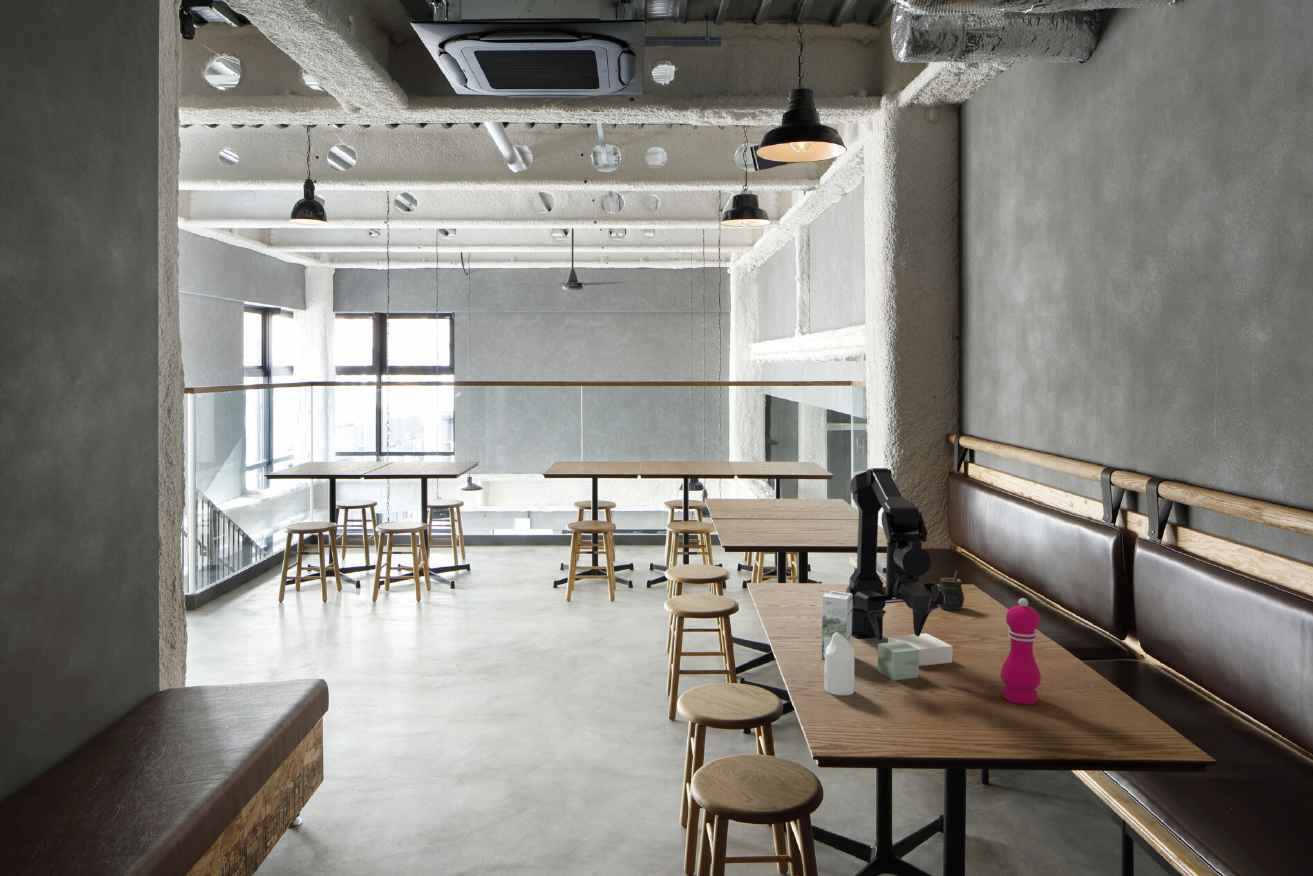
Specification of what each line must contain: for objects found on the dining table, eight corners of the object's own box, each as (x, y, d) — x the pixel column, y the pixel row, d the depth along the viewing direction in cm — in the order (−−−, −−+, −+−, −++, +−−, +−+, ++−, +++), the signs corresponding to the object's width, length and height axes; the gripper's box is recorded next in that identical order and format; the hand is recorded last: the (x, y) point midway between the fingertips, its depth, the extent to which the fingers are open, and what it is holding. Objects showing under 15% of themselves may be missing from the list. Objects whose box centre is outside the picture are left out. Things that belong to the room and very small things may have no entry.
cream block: (887, 653, 192) (888, 636, 191) (925, 650, 194) (926, 633, 194) (912, 668, 182) (912, 650, 182) (952, 664, 185) (952, 646, 184)
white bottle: (859, 631, 167) (849, 638, 162) (858, 689, 168) (847, 698, 163) (831, 626, 170) (820, 633, 166) (830, 683, 171) (819, 691, 167)
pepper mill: (1037, 708, 159) (1041, 605, 157) (996, 700, 163) (1000, 599, 161) (1042, 696, 165) (1046, 596, 164) (1003, 689, 169) (1006, 591, 167)
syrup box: (851, 655, 189) (853, 592, 188) (846, 663, 184) (847, 598, 183) (826, 651, 192) (828, 589, 191) (820, 659, 186) (821, 595, 185)
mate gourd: (933, 609, 228) (934, 573, 228) (939, 603, 235) (940, 568, 234) (960, 613, 224) (961, 576, 224) (966, 607, 231) (967, 571, 230)
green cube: (877, 671, 179) (878, 643, 179) (901, 668, 181) (902, 641, 181) (893, 680, 173) (894, 652, 173) (918, 677, 175) (919, 649, 175)
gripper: (883, 576, 165) (881, 654, 166) (962, 570, 171) (960, 645, 172) (853, 564, 176) (852, 637, 177) (929, 559, 181) (927, 630, 183)
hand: (898, 637), depth 177 cm, fingers open, 9 cm apart
